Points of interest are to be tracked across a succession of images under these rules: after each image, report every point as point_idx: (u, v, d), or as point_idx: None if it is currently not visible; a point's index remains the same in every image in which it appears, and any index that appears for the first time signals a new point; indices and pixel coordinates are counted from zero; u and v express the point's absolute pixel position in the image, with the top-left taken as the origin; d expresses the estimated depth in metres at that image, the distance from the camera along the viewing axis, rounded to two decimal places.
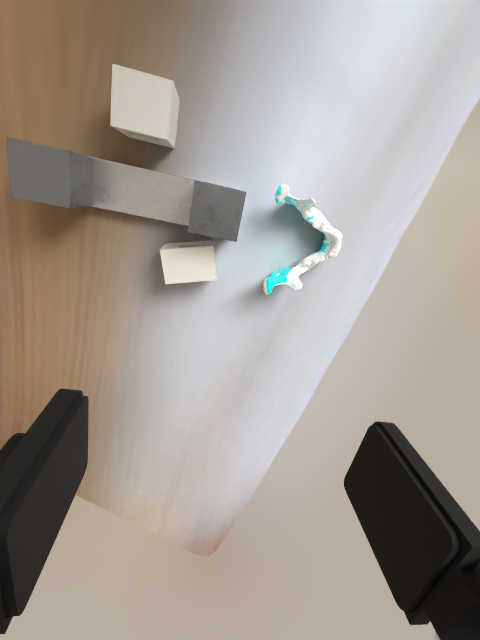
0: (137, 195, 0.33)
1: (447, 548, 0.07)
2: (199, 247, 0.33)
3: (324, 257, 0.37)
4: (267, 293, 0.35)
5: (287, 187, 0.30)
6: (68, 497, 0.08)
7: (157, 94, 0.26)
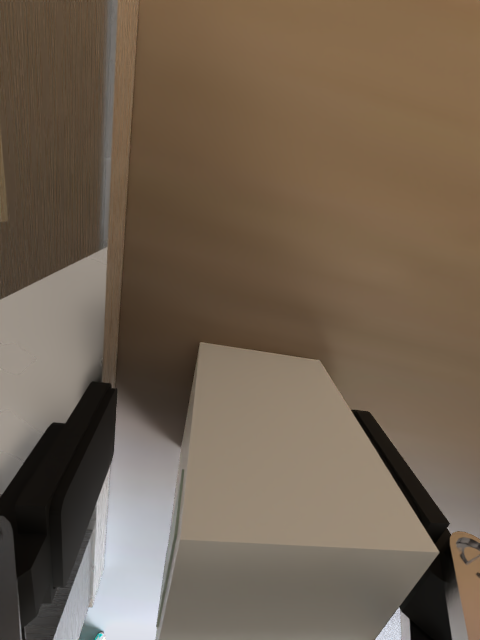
0: (0, 388, 0.09)
1: None
2: None
3: None
4: None
5: None
6: (99, 483, 0.09)
7: None
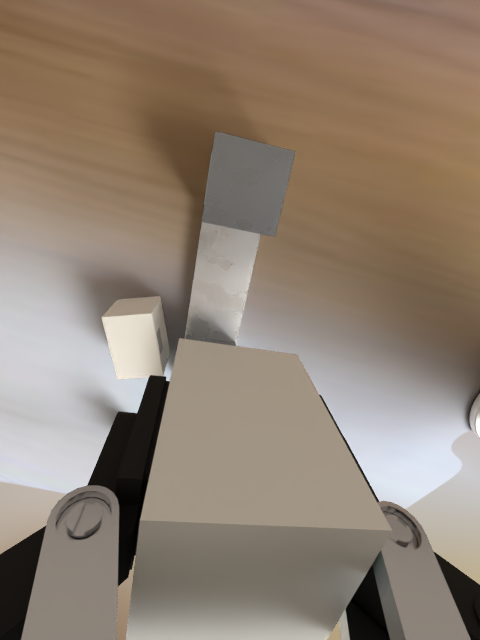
0: (218, 275, 0.26)
1: None
2: (159, 360, 0.26)
3: None
4: None
5: None
6: None
7: (274, 639, 0.07)
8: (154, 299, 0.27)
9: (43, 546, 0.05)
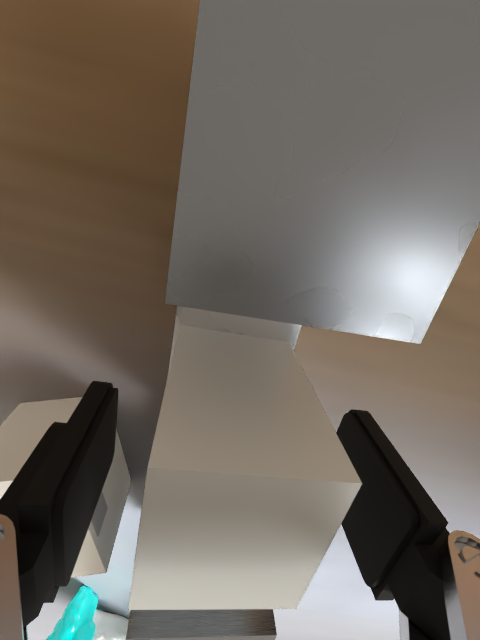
0: None
1: (407, 524, 0.07)
2: (95, 551, 0.12)
3: None
4: None
5: None
6: (101, 482, 0.09)
7: (262, 584, 0.08)
8: None
9: None
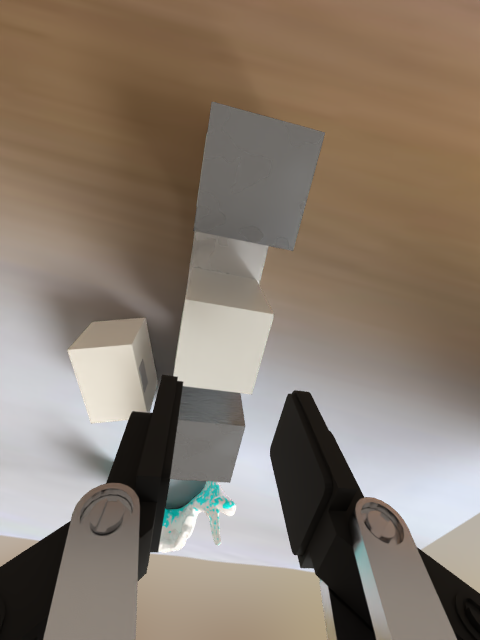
0: None
1: (322, 492, 0.07)
2: (143, 400, 0.21)
3: None
4: None
5: (232, 514, 0.24)
6: None
7: (234, 374, 0.16)
8: (137, 322, 0.22)
9: (67, 539, 0.05)
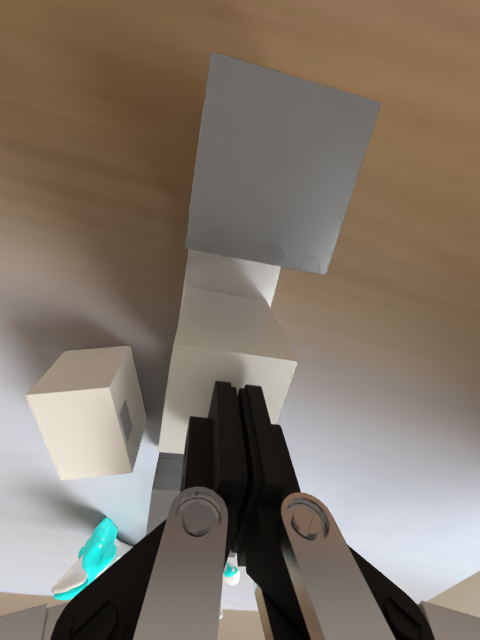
0: None
1: (254, 487, 0.07)
2: (125, 453, 0.17)
3: None
4: (54, 592, 0.19)
5: (235, 583, 0.20)
6: None
7: None
8: (120, 353, 0.18)
9: (165, 530, 0.06)
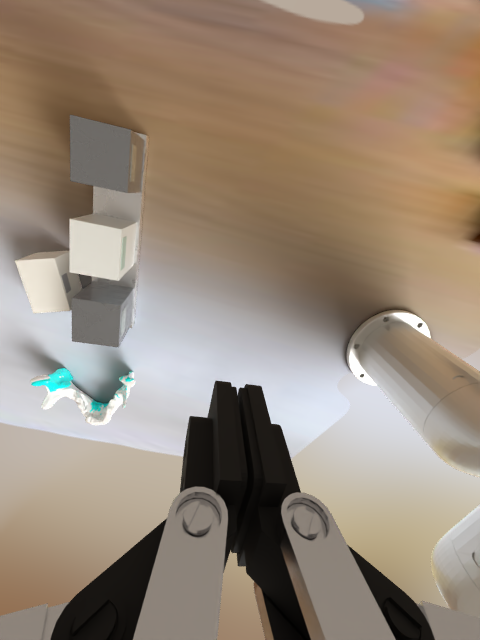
0: None
1: (254, 487, 0.07)
2: (65, 298, 0.33)
3: (85, 412, 0.41)
4: (31, 382, 0.35)
5: (131, 386, 0.37)
6: None
7: (105, 266, 0.29)
8: (65, 252, 0.35)
9: (165, 530, 0.06)
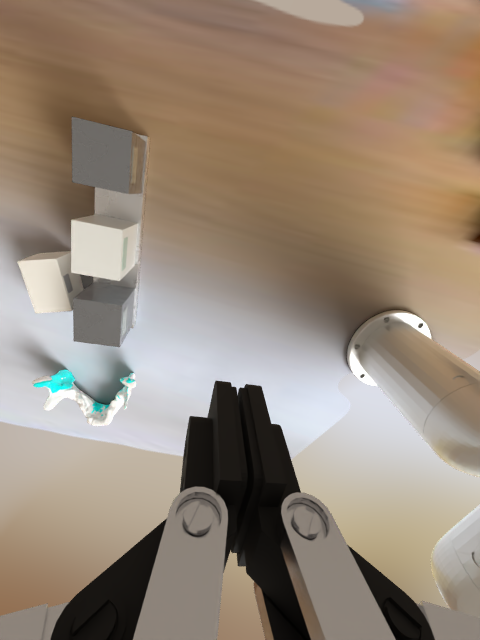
0: None
1: (253, 487, 0.07)
2: (67, 298, 0.33)
3: (87, 413, 0.42)
4: (33, 383, 0.36)
5: (132, 387, 0.37)
6: None
7: (106, 267, 0.29)
8: (66, 252, 0.35)
9: (164, 530, 0.06)
